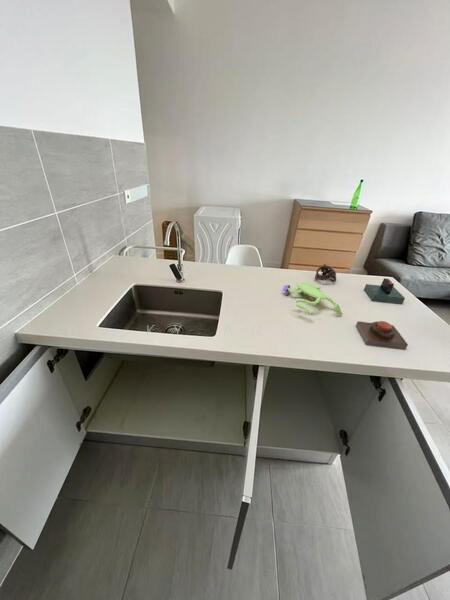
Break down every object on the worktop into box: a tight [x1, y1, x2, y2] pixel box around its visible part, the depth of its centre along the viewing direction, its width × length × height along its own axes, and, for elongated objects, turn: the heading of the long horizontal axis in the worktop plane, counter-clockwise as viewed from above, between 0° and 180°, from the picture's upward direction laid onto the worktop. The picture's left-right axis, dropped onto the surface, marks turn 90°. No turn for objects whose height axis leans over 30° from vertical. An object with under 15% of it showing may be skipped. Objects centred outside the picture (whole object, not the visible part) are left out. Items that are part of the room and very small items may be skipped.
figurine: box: [282, 281, 343, 317], centre depth 97 cm, size 18×27×6 cm
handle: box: [380, 277, 395, 294], centre depth 103 cm, size 6×2×5 cm, turn 172°
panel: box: [363, 283, 406, 305], centre depth 105 cm, size 12×10×3 cm
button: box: [376, 320, 392, 332], centre depth 79 cm, size 4×4×2 cm
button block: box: [355, 320, 408, 351], centre depth 80 cm, size 12×10×4 cm
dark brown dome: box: [314, 264, 337, 283], centre depth 117 cm, size 12×10×8 cm
